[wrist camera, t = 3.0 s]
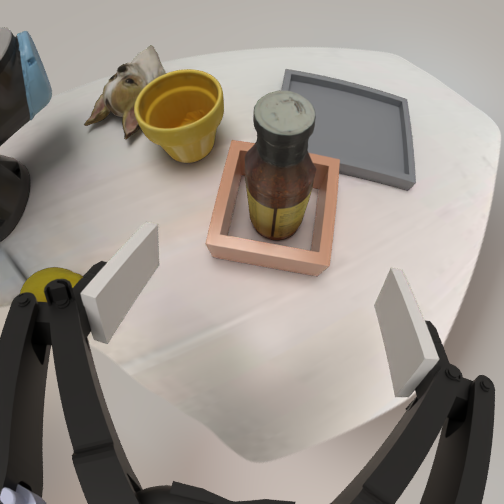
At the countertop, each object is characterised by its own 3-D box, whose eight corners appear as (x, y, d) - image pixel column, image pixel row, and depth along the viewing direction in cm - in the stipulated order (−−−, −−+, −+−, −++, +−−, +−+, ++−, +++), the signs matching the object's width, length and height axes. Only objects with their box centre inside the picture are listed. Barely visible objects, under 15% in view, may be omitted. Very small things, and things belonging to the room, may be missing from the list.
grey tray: (268, 159, 39) (269, 149, 37) (284, 79, 43) (285, 68, 40) (407, 190, 38) (415, 183, 36) (401, 108, 42) (406, 99, 39)
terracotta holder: (212, 257, 36) (205, 243, 30) (234, 165, 39) (231, 140, 33) (316, 276, 35) (329, 266, 29) (328, 182, 38) (339, 159, 32)
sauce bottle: (304, 200, 38) (344, 90, 18) (296, 247, 36) (340, 161, 17) (252, 189, 38) (252, 72, 19) (241, 236, 36) (230, 139, 17)
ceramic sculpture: (176, 41, 34) (112, 118, 32) (188, 78, 43) (136, 150, 41) (124, 35, 36) (64, 104, 33) (140, 68, 44) (90, 133, 42)
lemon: (44, 336, 33) (7, 335, 25) (39, 281, 35) (3, 270, 27) (107, 328, 34) (73, 326, 26) (100, 267, 36) (67, 252, 28)
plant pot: (197, 104, 41) (187, 57, 32) (243, 142, 40) (241, 94, 30) (142, 145, 40) (118, 102, 30) (184, 189, 38) (164, 148, 28)
